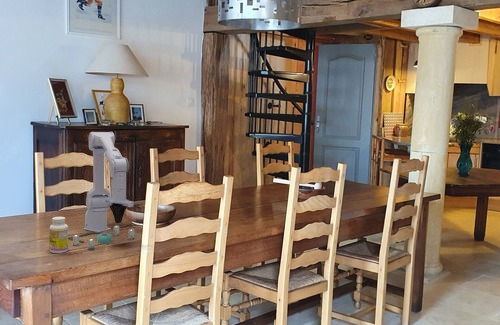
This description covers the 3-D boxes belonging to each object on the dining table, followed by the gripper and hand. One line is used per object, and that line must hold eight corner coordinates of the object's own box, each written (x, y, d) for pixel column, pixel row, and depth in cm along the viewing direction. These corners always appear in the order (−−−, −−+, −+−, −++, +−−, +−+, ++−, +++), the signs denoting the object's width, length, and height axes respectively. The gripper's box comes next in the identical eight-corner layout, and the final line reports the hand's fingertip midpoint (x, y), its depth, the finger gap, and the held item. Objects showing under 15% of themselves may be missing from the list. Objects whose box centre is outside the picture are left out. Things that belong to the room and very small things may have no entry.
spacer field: (71, 245, 210) (71, 235, 210) (116, 234, 230) (116, 225, 229) (90, 250, 204) (90, 240, 204) (135, 238, 224) (135, 229, 223)
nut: (94, 242, 216) (94, 234, 216) (105, 239, 221) (105, 232, 221) (103, 244, 213) (103, 237, 213) (114, 242, 218) (114, 234, 218)
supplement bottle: (46, 250, 202) (46, 217, 200) (63, 247, 206) (63, 215, 205) (54, 254, 197) (54, 220, 196) (71, 251, 202) (71, 218, 200)
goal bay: (67, 239, 219) (67, 237, 219) (94, 233, 231) (94, 231, 231) (82, 243, 214) (82, 241, 214) (109, 236, 226) (109, 235, 225)
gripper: (98, 187, 211) (98, 221, 212) (124, 192, 203) (123, 227, 204) (111, 185, 217) (111, 218, 218) (137, 190, 209) (137, 224, 210)
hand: (118, 222), depth 212 cm, fingers closed
